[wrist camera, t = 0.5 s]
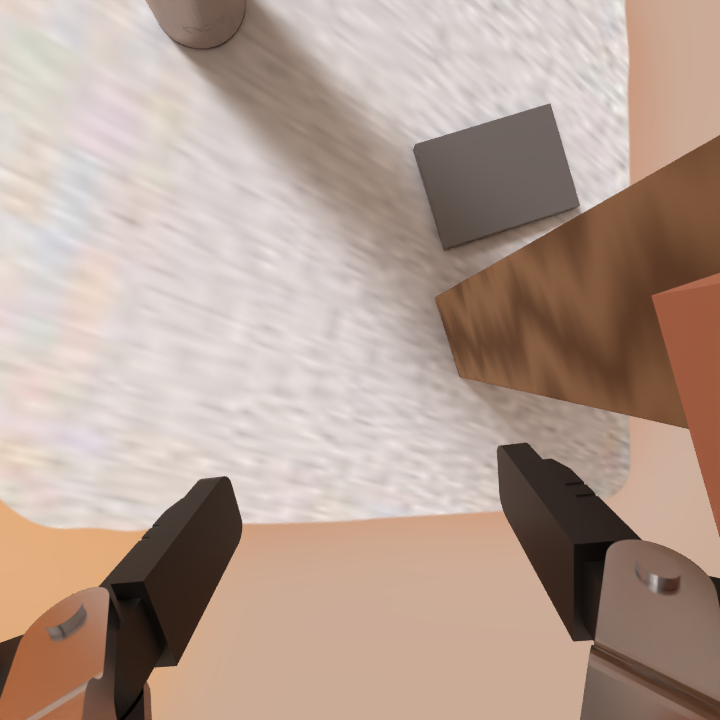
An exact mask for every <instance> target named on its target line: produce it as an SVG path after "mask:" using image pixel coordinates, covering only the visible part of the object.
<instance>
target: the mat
mask: <svg viewBox="0 0 720 720" xmlns="http://www.w3.org/2000/svg"><path fill="white" fill-rule="evenodd" d="M413 151H414V154H415V158H416V161H417V164H418V167H419V171H420V174H421V177H422V180H423V183H424V187H425V190H426V193H427V196H428V200H429V203H430V206H431V209H432V212H433V216H434V219H435V222H436V225H437V229H438V232H439V235H440V238H441V242H442V245H443V248H444V250H447V249H450V248H453V247H457V246H460V245H463V244H466V243H469V242H472V241H475V240H479V239H482V238H485V237H488V236H491V235H494V234H497V233H501V232H504V231H507V230H510V229H513V228H516V227H520V226H523V225H526V224H529V223H532V222H535V221H538V220H542V219H545V218H548V217H551V216H554V215H557V214H560V213H564V212H567V211H570V210H573V209H575V208H576V207H578V206H580V204H579V201H578V197H577V194H576V190H575V187H574V184H573V180H572V177H571V173H570V170H569V166H568V163H567V159H566V156H565V152H564V149H563V146H562V142H561V139H560V135H559V132H558V128H557V125H556V121H555V118H554V114H553V111H552V108H551V104H547V105H544V106H540V107H537V108H534V109H530V110H527V111H524V112H520V113H517V114H514V115H511V116H507V117H504V118H501V119H497V120H494V121H491V122H487V123H484V124H481V125H478V126H474V127H471V128H468V129H464V130H461V131H458V132H454V133H451V134H448V135H445V136H441V137H438V138H435V139H431V140H428V141H425V142H421V143H418V144H415V147H414V149H413Z"/></svg>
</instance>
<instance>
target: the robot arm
mask: <svg viewBox="0 0 720 720" xmlns="http://www.w3.org/2000/svg"><path fill="white" fill-rule="evenodd" d="M146 2H147V4H148V5H149V7H150V9H151V11H152V12H153V14H154V16H155V18H156V19H157V21H158V23H159V25H160V26H161V28H162V29H163V30H164V31H165V32H166V34H167V35H169V36H170V37H171V38H172V39H174V40H175V41H177V42H179V43H181V44H183V45H185V46H189V47H192V48H210V47H215V46H217V45H220V44H222V43H224V42H225V41H227V40H228V39H230V38H231V37H232V36H233V35H234V33H235V32H236V31H237V30H238V28H239V26H240V24H241V23H242V19H243V16H244V12H245V0H146ZM497 460H498V477H499V493H500V500H501V504H502V508H503V511H504V513H505V516H506V518H507V520H508V522H509V523H510V525H511V527H512V529H513V530H514V533H515V534H516V536H517V538H518V540H519V542H520V544H521V546H522V547H523V549H524V551H525V553H526V555H527V557H528V559H529V560H530V562H531V564H532V566H533V568H534V570H535V572H536V573H537V575H538V577H539V579H540V581H541V582H542V584H543V586H544V588H545V590H546V592H547V594H548V596H549V597H550V599H551V601H552V603H553V605H554V607H555V608H556V610H557V612H558V614H559V616H560V618H561V620H562V621H563V623H564V625H565V627H566V629H567V631H568V632H569V634H570V636H571V638H572V640H573V641H587V640H593V641H594V646H593V645H592V646H591V649H590V655H589V661H588V668H587V675H586V682H585V689H584V697H583V703H582V710H581V718H580V720H720V578H716V577H711V576H708V575H707V574H706V573H705V572H704V571H703V570H702V569H701V568H700V567H699V566H698V565H696V564H695V563H694V562H692V561H691V560H690V559H688V558H687V557H685V556H683V555H682V554H679V553H678V552H676V551H674V550H672V549H670V548H667V547H665V546H662V545H659V544H656V543H652V542H648V541H643V540H641V538H640V537H638V535H637V534H635V532H633V530H631V529H630V528H629V526H628V525H627V524H625V523H624V522H623V521H622V520H621V519H620V518H619V517H618V516H617V515H616V514H615V513H614V512H613V511H612V510H611V509H610V508H609V507H608V506H607V505H606V504H605V503H604V502H603V501H602V500H601V499H600V498H599V497H598V496H596V495H595V493H594V492H593V491H592V490H591V489H590V488H589V487H588V486H587V485H584V482H583V481H582V480H581V479H580V478H579V477H578V476H577V475H576V474H575V473H574V472H573V471H572V470H571V469H570V468H568V467H566V466H564V465H563V464H561V463H559V462H557V461H555V460H553V459H542V458H541V457H540V456H539V455H538V454H537V453H536V452H535V451H534V450H533V448H532V447H531V446H530V445H529V444H528V443H519V444H510V445H502V446H498V449H497ZM241 534H242V519H241V515H240V512H239V508H238V505H237V501H236V498H235V494H234V491H233V487H232V484H231V481H230V479H229V478H228V477H226V476H223V477H215V478H206V479H200V480H199V481H198V482H197V483H196V484H195V485H194V486H193V488H192V489H191V490H190V491H189V492H188V493H187V495H186V496H185V497H184V498H182V499H181V500H180V501H178V502H177V503H175V504H174V505H173V506H171V507H170V508H169V509H167V510H166V511H165V512H164V513H163V514H162V515H161V516H160V518H159V519H158V520H157V521H156V522H155V523H154V524H153V527H152V528H150V529H149V530H148V531H147V532H146V534H145V535H144V536H143V537H142V540H141V541H139V542H138V543H137V544H136V545H135V546H134V547H133V548H132V549H131V551H130V552H129V553H128V554H127V555H126V556H125V557H124V559H123V560H122V561H121V562H120V563H119V564H118V565H117V566H116V567H115V569H114V570H113V571H112V572H111V573H110V574H109V576H108V577H107V578H106V579H105V580H104V581H103V582H102V583H101V585H100V586H99V587H93V588H88V589H85V590H82V591H79V592H77V593H75V594H72V595H71V596H69V597H67V598H65V599H63V600H62V601H60V602H59V603H57V604H56V605H54V606H53V607H51V608H50V609H49V610H47V611H46V612H45V613H44V614H43V615H42V616H40V617H39V618H38V619H37V620H36V621H35V622H34V623H33V624H32V625H31V627H30V628H29V629H28V630H27V631H26V633H25V634H24V635H21V636H18V637H15V638H12V639H10V640H7V641H4V642H1V643H0V720H152V715H151V694H150V688H149V685H148V683H147V679H148V677H149V676H150V674H151V672H152V670H153V669H154V667H167V666H177V664H178V662H179V660H180V658H181V656H182V655H183V653H184V651H185V649H186V647H187V644H188V643H189V641H190V639H191V637H192V635H193V633H194V631H195V629H196V627H197V625H198V623H199V621H200V619H201V617H202V615H203V613H204V611H205V609H206V607H207V605H208V603H209V601H210V599H211V597H212V595H213V593H214V591H215V589H216V587H217V585H218V583H219V581H220V579H221V577H222V575H223V573H224V571H225V569H226V567H227V565H228V563H229V561H230V559H231V557H232V555H233V553H234V551H235V549H236V547H237V546H238V544H239V541H240V538H241Z"/></svg>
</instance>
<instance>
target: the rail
mask: <svg viewBox="0 0 720 720" xmlns="http://www.w3.org/2000/svg"><path fill="white" fill-rule="evenodd" d="M652 299H653V303H654V306H655V310H656V314H657V317H658V321H659V324H660V328H661V331H662V335H663V338H664V342H665V345H666V349H667V352H668V356H669V359H670V363H671V367H672V370H673V374H674V377H675V381H676V384H677V388H678V391H679V395H680V398H681V402H682V405H683V409H684V413H685V416H686V420H687V423H688V427H689V430H690V434H691V437H692V441H693V444H694V448H695V451H696V455H697V458H698V462H699V466H700V469H701V473H702V476H703V480H704V483H705V487H706V490H707V494H708V497H709V500H710V504H711V508H712V511H713V515H714V519H715V522H716V525H717V529H718V533H719V536H720V273H718V274H715V275H712V276H709V277H706V278H703V279H700V280H697V281H694V282H691V283H688V284H685V285H682V286H679V287H676V288H673V289H670V290H667V291H664V292H661V293H658V294H655V295H652Z"/></svg>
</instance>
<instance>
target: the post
mask: <svg viewBox="0 0 720 720" xmlns="http://www.w3.org/2000/svg"><path fill="white" fill-rule="evenodd" d="M718 273H720V135H719V136H718V137H716V138H714V139H712V140H710V141H709V142H707V143H706V144H703V145H702V146H700V147H698V148H696V149H695V150H693V151H691V152H689V153H688V154H686V155H684V156H682V157H681V158H679V159H677V160H675V161H674V162H672V163H670V164H668V165H667V166H665V167H663V168H661V169H660V170H658V171H656V172H654V173H653V174H651V175H649V176H647V177H646V178H644V179H642V180H641V181H639V182H637V183H635V184H633V185H632V186H630V187H628V188H626V189H625V190H623V191H621V192H619V193H618V194H616V195H614V196H612V197H610V198H609V199H607V200H605V201H603V202H602V203H600V204H598V205H596V206H595V207H593V208H591V209H589V210H588V211H586V212H584V213H582V214H581V215H579V216H577V217H575V218H574V219H572V220H570V221H568V222H567V223H565V224H563V225H561V226H560V227H558V228H556V229H554V230H553V231H551V232H549V233H547V234H546V235H544V236H542V237H540V238H539V239H537V240H535V241H533V242H532V243H530V244H528V245H526V246H525V247H523V248H521V249H519V250H518V251H516V252H514V253H512V254H511V255H509V256H507V257H505V258H504V259H502V260H500V261H498V262H497V263H495V264H493V265H491V266H490V267H488V268H486V269H484V270H483V271H481V272H479V273H477V274H476V275H474V276H472V277H470V278H469V279H467V280H465V281H463V282H462V283H460V284H458V285H456V286H455V287H453V288H451V289H449V290H448V291H446V292H444V293H442V294H440V295H439V296H437V297H435V299H436V303H437V306H438V309H439V312H440V315H441V319H442V322H443V325H444V328H445V331H446V335H447V338H448V341H449V344H450V347H451V351H452V354H453V357H454V360H455V363H456V367H457V370H458V373H459V376H460V377H462V378H467V379H471V380H476V381H480V382H484V383H489V384H493V385H498V386H502V387H506V388H511V389H515V390H520V391H524V392H528V393H533V394H537V395H542V396H546V397H550V398H555V399H559V400H564V401H568V402H572V403H577V404H581V405H586V406H590V407H594V408H599V409H603V410H608V411H612V412H616V413H621V414H625V415H630V416H634V417H639V418H643V419H647V420H652V421H656V422H660V423H665V424H669V425H674V426H678V427H682V428H687V429H689V427H688V423H687V420H686V416H685V413H684V409H683V405H682V402H681V398H680V395H679V391H678V388H677V384H676V381H675V377H674V374H673V370H672V367H671V363H670V359H669V356H668V352H667V349H666V345H665V342H664V338H663V335H662V331H661V328H660V324H659V321H658V317H657V314H656V310H655V306H654V303H653V299H652V295H655V294H658V293H661V292H664V291H667V290H670V289H673V288H676V287H679V286H682V285H685V284H688V283H691V282H694V281H697V280H700V279H703V278H706V277H709V276H712V275H715V274H718Z"/></svg>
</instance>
